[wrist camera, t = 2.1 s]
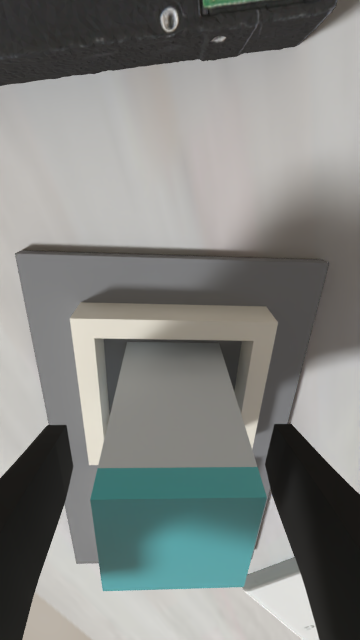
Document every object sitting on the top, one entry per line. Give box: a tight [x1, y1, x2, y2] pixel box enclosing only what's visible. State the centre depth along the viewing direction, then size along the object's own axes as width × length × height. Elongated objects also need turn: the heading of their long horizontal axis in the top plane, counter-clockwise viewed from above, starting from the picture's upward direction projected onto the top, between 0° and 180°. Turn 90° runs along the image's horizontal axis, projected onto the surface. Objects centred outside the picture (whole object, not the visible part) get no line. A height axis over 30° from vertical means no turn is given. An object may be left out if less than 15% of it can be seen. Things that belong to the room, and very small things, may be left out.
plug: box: [90, 342, 267, 591], centre depth 11 cm, size 4×4×7 cm
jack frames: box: [70, 302, 278, 465], centre depth 15 cm, size 17×8×2 cm, turn 178°
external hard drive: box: [242, 557, 319, 640], centre depth 24 cm, size 2×8×12 cm
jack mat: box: [15, 251, 329, 564], centre depth 16 cm, size 21×12×1 cm, turn 178°
